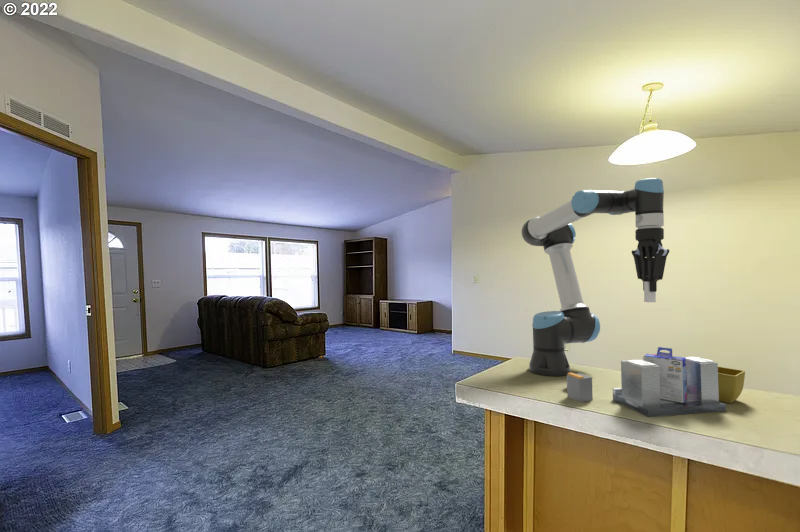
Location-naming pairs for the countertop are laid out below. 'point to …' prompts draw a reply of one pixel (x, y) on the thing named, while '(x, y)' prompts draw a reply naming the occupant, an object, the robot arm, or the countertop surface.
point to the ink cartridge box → (670, 375)
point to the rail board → (645, 388)
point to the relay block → (579, 387)
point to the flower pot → (730, 384)
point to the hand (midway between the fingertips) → (649, 301)
